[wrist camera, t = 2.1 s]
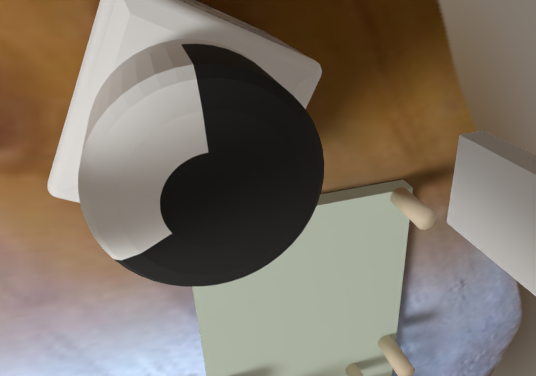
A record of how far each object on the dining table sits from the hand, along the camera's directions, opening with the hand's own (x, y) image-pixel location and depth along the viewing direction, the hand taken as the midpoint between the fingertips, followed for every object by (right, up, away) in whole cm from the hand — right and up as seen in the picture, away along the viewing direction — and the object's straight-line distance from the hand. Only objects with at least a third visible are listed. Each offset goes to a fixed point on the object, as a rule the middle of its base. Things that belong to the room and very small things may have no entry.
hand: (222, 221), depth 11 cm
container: (-4, +6, +12) cm, 14 cm away
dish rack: (+3, -9, +21) cm, 23 cm away
